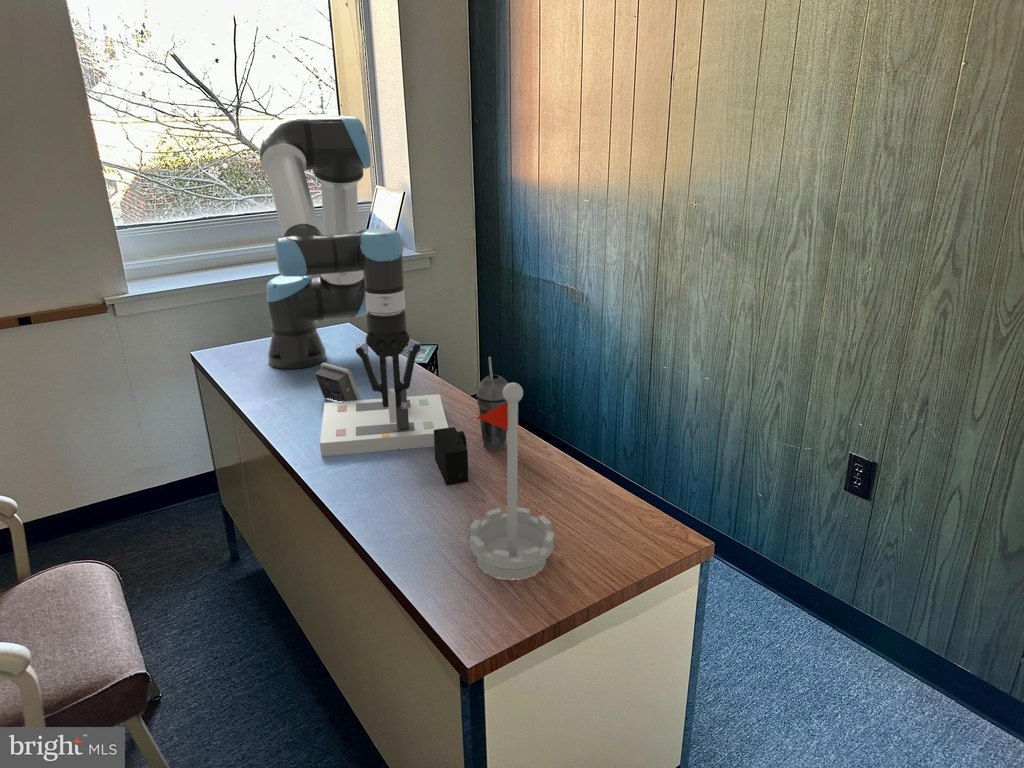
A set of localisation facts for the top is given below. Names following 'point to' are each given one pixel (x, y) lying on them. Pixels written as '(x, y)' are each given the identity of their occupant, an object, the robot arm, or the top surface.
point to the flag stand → (510, 512)
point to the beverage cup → (488, 400)
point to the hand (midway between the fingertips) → (393, 420)
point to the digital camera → (451, 455)
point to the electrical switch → (337, 383)
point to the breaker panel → (379, 426)
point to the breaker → (403, 396)
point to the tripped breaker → (402, 416)
